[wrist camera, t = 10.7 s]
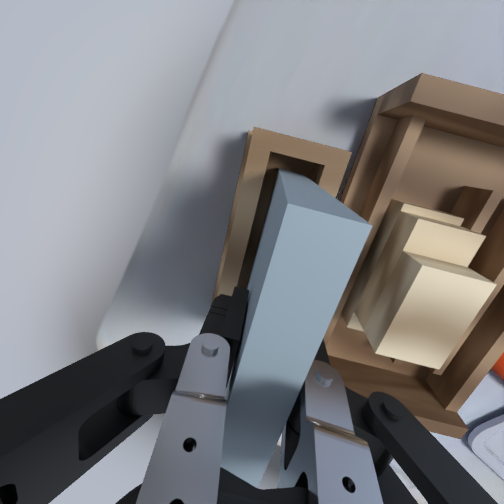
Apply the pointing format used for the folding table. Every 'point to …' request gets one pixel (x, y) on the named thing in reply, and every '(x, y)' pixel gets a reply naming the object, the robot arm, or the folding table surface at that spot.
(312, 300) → the panel
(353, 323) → the offcut long
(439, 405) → the rack
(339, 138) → the folding table surface
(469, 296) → the offcut short
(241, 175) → the stand
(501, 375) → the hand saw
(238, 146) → the folding table surface
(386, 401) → the robot arm
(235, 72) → the folding table surface
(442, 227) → the offcut mid
